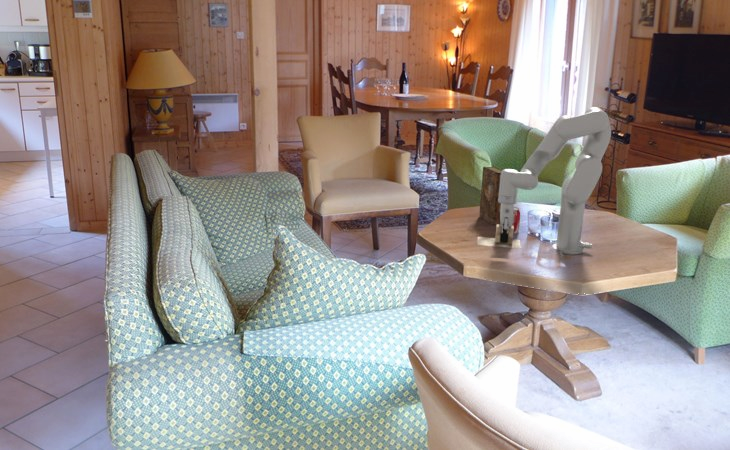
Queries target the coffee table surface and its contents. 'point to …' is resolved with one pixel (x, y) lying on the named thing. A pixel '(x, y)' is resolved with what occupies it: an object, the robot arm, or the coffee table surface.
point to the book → (490, 195)
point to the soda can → (516, 220)
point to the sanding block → (498, 233)
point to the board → (491, 242)
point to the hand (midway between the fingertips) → (503, 240)
